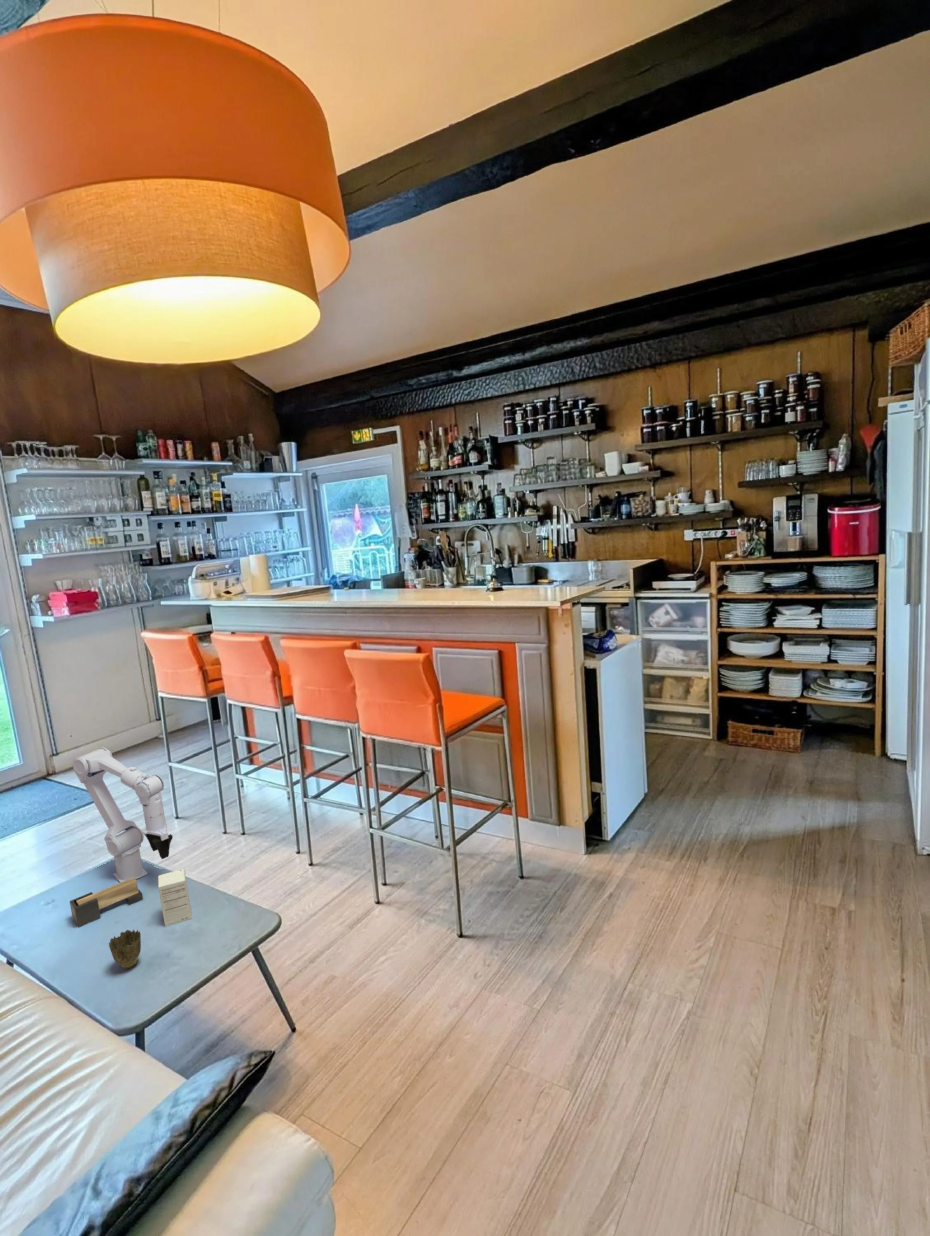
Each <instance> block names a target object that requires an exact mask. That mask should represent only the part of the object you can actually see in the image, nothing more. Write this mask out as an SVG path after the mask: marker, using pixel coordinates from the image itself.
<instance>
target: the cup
mask: <svg viewBox="0 0 930 1236" xmlns="http://www.w3.org/2000/svg"><path fill="white" fill-rule="evenodd" d="M141 938H142V937H141V932H140V931H139V930H138V929H137V930H136V931H135V929H132V930H129V929H126V930H125V931H121V932H120V933H119V936H117V937H116V936H115V935H114V936H113V937H111V938H110V941H109V942H108V947H109V950H110V952H111V953H110V954H111V956H112V958H113V960H114V961H115V963H117V964H118V965H120V967H121V968H122V969H124V970H128V969H132V968H133V967H134V966H136V964H137V959H138V957H139V956H140V954H141V952H142V951H141V948H142V942H141V941H142V940H141Z"/></svg>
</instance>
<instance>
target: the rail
mask: <svg viewBox="0 0 930 1236" xmlns="http://www.w3.org/2000/svg"><path fill="white" fill-rule="evenodd" d="M138 889H139V887H138V881H137V879H136V880H135V878H134V877H133V878H131V879H128V880H126V881H123V882H121V883H120V882H119V883H116V884H114V885H112V886H109V887H107V888H104V889H102V890H99V891H97V892H95V893H93V894H92V895H89V896H87V897H84V898H82V899H80V900H77V901H76V903H77V907H78V906H80V905H82V904H85V903H87V902H90V901H92V900H94V899H97V900H98V905H99V910H102V909H103V908H106V907H108V906H111V905H113V904H114V903H115V904H116V903H117V902H119V901H122V900H125V898H127V897H129V896H132V895H134V894H136V893H139V892H138Z"/></svg>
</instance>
